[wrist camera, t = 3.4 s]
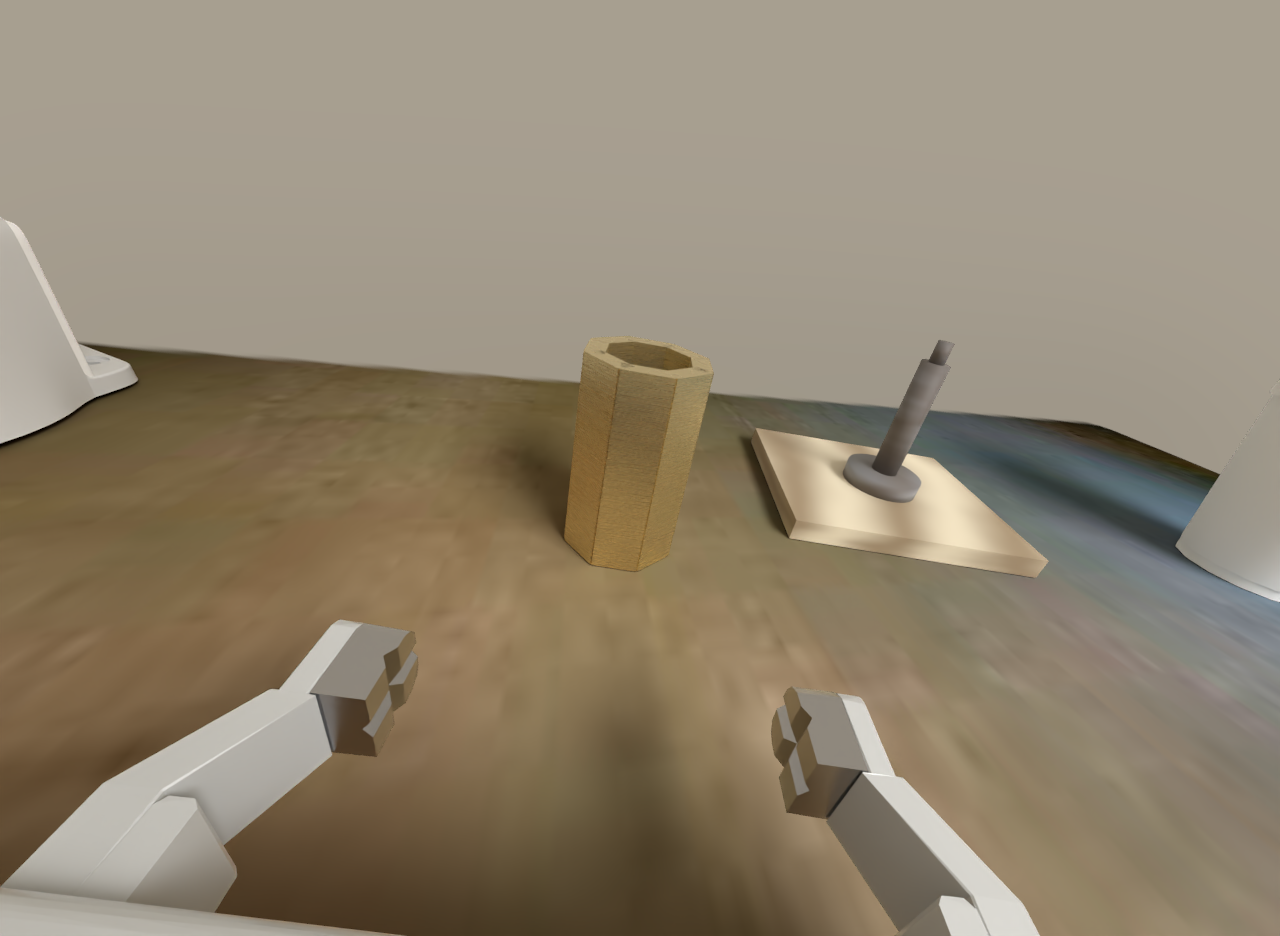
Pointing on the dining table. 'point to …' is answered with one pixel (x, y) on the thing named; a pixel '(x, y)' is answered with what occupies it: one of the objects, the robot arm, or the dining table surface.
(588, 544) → the collar
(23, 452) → the dining table surface
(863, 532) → the shaft stand
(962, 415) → the dining table surface
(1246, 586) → the foam cup
